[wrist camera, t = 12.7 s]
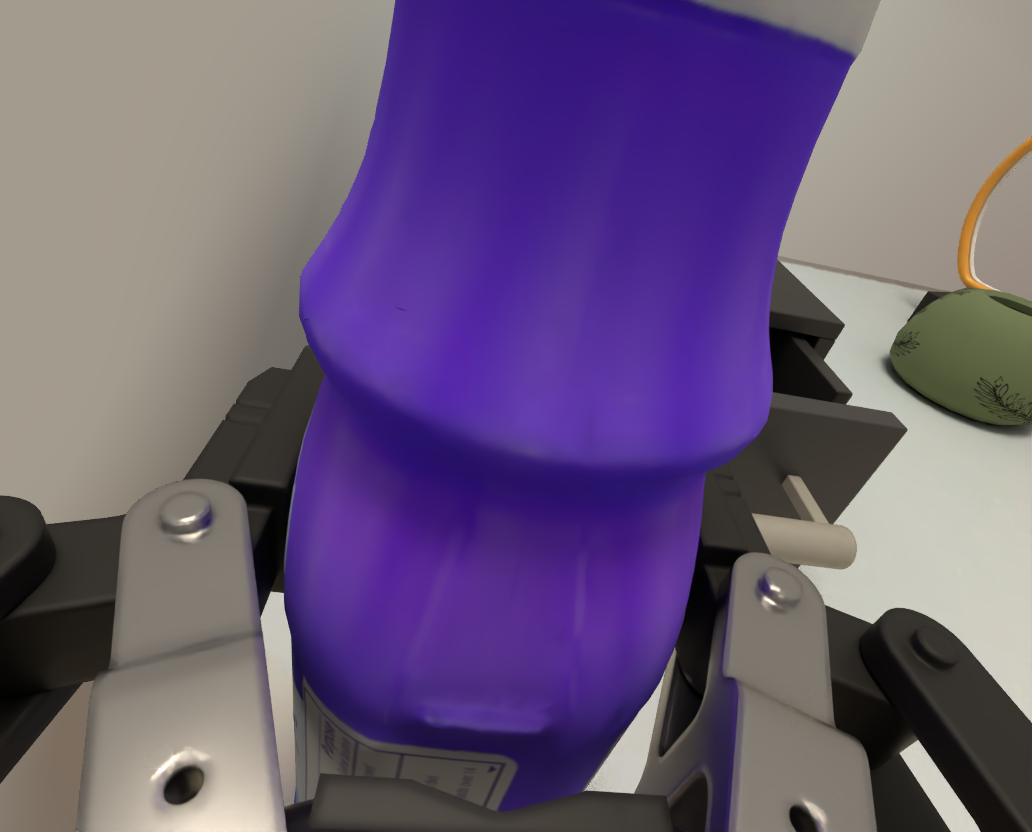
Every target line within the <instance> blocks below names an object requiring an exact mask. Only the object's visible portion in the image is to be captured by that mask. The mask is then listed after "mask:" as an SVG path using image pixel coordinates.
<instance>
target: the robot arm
mask: <svg viewBox="0 0 1032 832" xmlns="http://www.w3.org/2000/svg"><path fill="white" fill-rule="evenodd" d="M324 375H325V373H324V371H323V369H322V368H321V366H320V364H319V362H318V360H317V359H316V357H315V355H314V353H313V351H312V349H311V347H310V346H309V345H307V346H305V348H304V349H303V351H302V352H301V354H300V356H299V358H298V359H297V361H296V363H295V365H294V367H293V368H292V370H286V369H280V368H274V367H271V368H270V369H268V370H266V371H265V372H263V373H262V374H260V375H258V376H257V377H255V378H253V379H252V380H250V381H249V382H248V383H247V385H246V386H245V388H244V390H243V391H242V392H241V394H240V395H239V397H238V398H237V400H236V404H234V405H233V406H232V407H231V409H230V410H229V412H228V413H227V415H226V419H225V420H223V421H222V422H221V424H220V425H219V427H218V428H217V430H216V431H215V433H214V434H213V436H212V437H211V439H210V441H209V442H208V443H207V445H206V446H205V448H204V449H203V451H202V452H201V454H200V455H199V457H198V458H197V460H196V461H195V463H194V464H193V466H192V468H191V469H190V470H189V472H188V473H187V475H186V476H185V478H184V479H183V480H182V481H176V482H173V483H169V484H166V485H164V486H161V487H159V488H156V489H155V490H153V491H151V492H149V493H147V494H146V495H144V496H143V497H142V498H141V499H139V500H138V501H137V502H136V503H135V504H134V505H133V506H132V507H131V508H130V509H129V511H128V512H127V514H124V515H120V516H115V517H108V518H100V519H91V520H83V521H73V522H64V523H55V524H46V523H45V520H44V518H43V516H42V514H41V512H40V510H39V509H38V508H37V507H36V506H35V505H33V504H32V503H30V502H28V501H26V500H23V499H20V498H16V497H11V496H0V783H1V782H2V781H3V780H4V778H5V777H6V776H7V775H8V773H9V772H10V771H11V770H12V769H13V767H14V766H15V765H16V764H17V762H18V761H19V760H20V759H21V758H22V756H23V755H24V754H25V753H26V752H27V750H28V749H29V748H30V747H31V745H32V744H33V743H34V742H35V741H36V739H37V738H38V737H39V736H40V734H41V733H42V732H43V731H44V730H45V728H46V727H47V726H48V725H49V723H50V722H51V721H52V720H53V718H54V717H55V716H56V715H57V713H58V712H59V711H60V710H61V709H62V707H63V706H64V705H65V704H66V703H67V701H68V700H69V699H70V698H71V697H72V695H73V694H74V693H75V692H76V690H77V689H78V688H79V687H80V685H81V684H82V683H83V682H88V681H92V680H94V683H93V686H92V690H91V695H90V702H89V710H88V719H87V728H86V738H85V747H84V757H83V765H82V774H81V784H80V793H79V803H78V812H77V821H76V830H75V832H951V831H950V830H949V828H948V827H947V825H946V824H945V822H944V821H943V819H942V818H941V816H940V815H939V813H938V811H937V810H936V808H935V807H934V805H933V804H932V802H931V801H930V799H929V798H928V796H927V795H926V793H925V792H924V790H923V789H922V787H921V786H920V784H919V783H918V781H917V780H916V778H915V776H914V775H913V773H912V772H911V770H910V769H909V767H908V766H907V764H906V763H905V761H904V760H903V758H902V757H901V755H900V754H899V753H900V752H901V751H903V750H904V749H906V748H907V747H908V746H910V745H911V744H913V743H914V742H915V741H917V740H919V741H920V743H921V744H922V746H923V747H924V749H925V750H926V752H927V753H928V754H929V756H930V757H931V759H932V760H933V762H934V763H935V765H936V766H937V767H938V769H939V770H940V772H941V773H942V775H943V776H944V778H945V779H946V780H947V782H948V783H949V785H950V786H951V788H952V789H953V790H954V792H955V793H956V795H957V796H958V798H959V799H960V801H961V802H962V803H963V805H964V806H965V808H966V809H967V811H968V812H969V814H970V815H971V816H972V818H973V819H974V821H975V822H976V824H977V826H978V827H979V829H980V831H981V832H1032V723H1031V722H1030V720H1029V719H1028V718H1027V717H1026V716H1025V715H1024V713H1023V712H1022V711H1021V710H1020V709H1019V708H1018V706H1017V705H1016V704H1015V703H1014V702H1013V701H1012V699H1011V698H1010V697H1009V696H1008V695H1007V694H1006V692H1005V691H1004V690H1003V689H1002V688H1001V687H1000V685H999V684H998V683H997V682H996V681H995V680H994V678H993V677H992V676H991V675H990V674H989V673H988V671H987V670H986V669H985V668H984V667H983V666H982V664H981V663H980V662H979V661H978V660H977V659H976V657H975V656H974V655H973V654H972V653H971V652H970V650H969V649H968V648H967V647H966V646H965V645H964V644H963V643H962V642H961V641H960V640H959V639H958V638H957V637H956V636H955V635H954V634H953V633H952V632H950V631H949V630H948V629H947V628H945V627H944V626H943V625H941V624H940V623H938V622H937V621H935V620H933V619H931V618H930V617H928V616H926V615H924V614H921V613H919V612H916V611H913V610H910V609H905V608H894V609H890V610H888V611H886V612H885V613H884V614H883V615H882V616H881V617H880V618H879V619H878V620H877V621H876V622H875V623H874V624H871V623H868V622H866V621H863V620H861V619H858V618H856V617H853V616H851V615H848V614H846V613H843V612H841V611H838V610H836V609H833V608H831V607H828V606H826V605H825V604H824V601H823V599H822V597H821V595H820V593H819V591H818V590H817V588H816V587H815V585H814V584H813V583H812V582H811V581H810V580H809V579H808V577H806V576H805V575H804V574H803V573H802V572H801V571H800V570H798V569H797V568H796V567H794V566H793V565H791V564H790V563H788V562H786V561H784V560H782V559H780V558H778V557H775V556H773V555H771V553H770V551H769V549H768V547H767V545H766V542H765V540H764V538H763V536H762V534H761V532H760V530H759V528H758V526H757V524H756V522H755V520H754V518H753V515H752V513H751V511H750V509H749V507H748V505H747V503H746V501H745V499H744V498H743V497H741V494H742V493H741V491H740V488H739V486H738V484H737V482H736V481H733V478H734V476H733V474H732V472H731V470H730V468H729V466H728V463H726V464H724V465H722V466H720V467H717V468H715V469H712V470H709V471H707V472H706V474H705V484H704V495H703V507H702V520H701V528H700V535H699V543H698V549H697V555H696V561H695V568H694V573H693V578H692V583H691V588H690V594H689V598H688V602H687V606H686V610H685V616H684V620H683V623H682V627H681V630H680V633H679V636H678V639H677V642H676V645H675V650H674V652H673V653H672V655H671V658H670V660H669V662H668V664H667V667H666V670H665V675H664V679H663V684H662V689H661V694H660V699H659V704H658V709H657V714H656V719H655V724H654V729H653V734H652V739H651V743H650V748H649V753H648V758H647V762H646V766H645V769H644V772H643V775H642V778H641V780H640V782H639V784H638V786H637V788H636V791H635V793H634V794H630V793H615V792H599V791H584V792H580V793H576V794H572V795H568V796H564V797H561V798H557V799H553V800H549V801H545V802H541V803H538V804H534V805H530V806H526V807H522V808H518V809H515V810H511V811H504V812H502V811H495V810H491V809H489V808H486V807H483V806H481V805H478V804H475V803H473V802H470V801H467V800H465V799H462V798H459V797H457V796H454V795H452V794H449V793H446V792H444V791H441V790H438V789H436V788H433V787H430V786H428V785H425V784H422V783H420V782H417V781H415V780H412V779H401V778H386V777H371V776H355V775H340V774H325V773H320V776H319V780H318V785H317V789H316V793H315V797H314V799H311V800H307V801H303V802H299V803H295V804H292V805H290V806H287V807H284V804H283V796H282V787H281V779H280V771H279V763H278V755H277V747H276V738H275V730H274V722H273V714H272V706H271V697H270V689H269V681H268V673H267V665H266V657H265V649H264V641H263V633H262V628H261V620H260V617H261V615H262V612H263V610H264V607H265V605H266V602H267V600H268V597H269V594H270V592H271V591H272V592H281V593H284V556H285V546H286V536H287V527H288V518H289V511H290V505H291V498H292V492H293V486H294V482H295V476H296V470H297V465H298V459H299V455H300V450H301V446H302V442H303V437H304V434H305V431H306V428H307V425H308V422H309V419H310V416H311V414H312V411H313V408H314V405H315V402H316V399H317V395H318V391H319V389H320V386H321V383H322V381H323V378H324Z"/></svg>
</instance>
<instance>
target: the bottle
mask: <svg viewBox="0 0 1032 832" xmlns="http://www.w3.org/2000/svg"><path fill="white" fill-rule="evenodd" d="M879 3H880V0H395V8H394V14H393V21H392V27H391V34H390V40H389V47H388V53H387V60H386V66H385V70H384V75H383V80H382V85H381V89H380V94H379V99H378V103H377V108H376V114H375V120H374V123H373V126H372V129H371V132H370V137H369V141H368V145H367V149H366V153H365V156H364V159H363V162H362V164H361V167H360V169H359V172H358V174H357V177H356V179H355V181H354V183H353V186H352V188H351V190H350V192H349V195H348V197H347V199H346V200H345V202H344V204H343V205H342V208H341V211H340V213H339V215H338V216H337V218H336V220H335V221H334V223H333V225H332V226H331V228H330V229H329V230H328V233H327V234H326V236H325V238H324V239H323V241H322V242H321V244H320V245H319V247H318V248H317V250H316V251H315V252H314V254H313V255H312V257H311V258H310V260H309V261H308V263H307V265H306V266H305V267H304V269H303V271H302V274H301V276H300V302H299V305H300V306H299V317H300V320H301V323H302V325H303V328H304V331H305V334H306V338H307V341H308V343H309V345H310V347H311V349H312V351H313V353H314V355H315V357H316V359H317V360H318V362H319V364H320V366H321V368H322V369H323V371H324V373H325V375H324V378H323V381H322V383H321V386H320V389H319V391H318V395H317V399H316V402H315V405H314V408H313V411H312V414H311V416H310V419H309V422H308V425H307V428H306V431H305V434H304V437H303V442H302V446H301V450H300V455H299V459H298V465H297V470H296V476H295V482H294V486H293V492H292V498H291V505H290V511H289V518H288V527H287V536H286V546H285V556H284V605H285V612H286V616H287V620H288V625H289V629H290V633H291V642H292V675H293V717H294V733H295V762H296V792H295V800H294V804H295V803H299V802H303V801H307V800H311V799H314V797H315V793H316V789H317V785H318V780H319V776H320V773H325V774H340V775H355V776H371V777H386V778H401V779H412V780H415V781H417V782H420V783H422V784H425V785H428V786H430V787H433V788H436V789H438V790H441V791H444V792H446V793H449V794H452V795H454V796H457V797H459V798H462V799H465V800H467V801H470V802H473V803H475V804H478V805H481V806H483V807H486V808H489V809H491V810H495V811H502V812H504V811H511V810H515V809H518V808H522V807H526V806H530V805H534V804H538V803H541V802H545V801H549V800H553V799H557V798H561V797H564V796H568V795H572V794H576V793H580V792H584V791H585V789H586V788H587V786H588V785H589V783H590V782H591V780H592V779H593V777H594V776H595V774H596V773H597V772H598V770H599V769H600V767H601V766H602V764H603V763H604V761H605V760H606V759H607V757H608V756H609V754H610V753H611V751H612V750H613V748H614V747H615V746H616V744H617V743H618V741H619V740H620V738H621V737H622V735H623V734H624V733H625V731H626V730H627V728H628V727H629V725H630V724H631V723H632V721H633V720H634V718H635V717H636V716H637V714H638V712H639V711H640V710H641V708H642V707H643V706H644V705H645V704H646V703H647V701H648V700H649V699H650V697H651V695H652V694H653V692H654V691H655V689H656V687H657V686H658V684H659V683H660V680H661V678H662V676H663V673H664V671H665V669H666V667H667V664H668V662H669V660H670V658H671V655H672V653H673V651H674V648H675V645H676V642H677V639H678V636H679V633H680V630H681V627H682V623H683V620H684V616H685V610H686V606H687V602H688V598H689V594H690V588H691V583H692V578H693V573H694V568H695V561H696V555H697V549H698V543H699V535H700V528H701V520H702V507H703V495H704V484H705V474H706V472H707V471H709V470H712V469H715V468H717V467H720V466H722V465H724V464H726V463H727V462H729V461H731V460H732V459H734V458H735V457H736V456H737V455H738V454H739V453H740V452H741V451H742V450H743V449H744V448H745V447H746V446H748V445H749V444H750V443H751V442H752V441H753V440H754V439H755V438H756V437H757V436H758V434H759V433H760V431H761V430H762V428H763V427H764V425H765V424H766V422H767V419H768V415H769V410H770V404H771V400H772V396H773V372H772V363H771V354H770V342H769V314H770V303H771V292H772V285H773V279H774V274H775V268H776V263H777V257H778V251H779V248H780V243H781V239H782V235H783V231H784V228H785V225H786V222H787V219H788V216H789V213H790V210H791V207H792V204H793V201H794V198H795V195H796V193H797V190H798V188H799V185H800V182H801V180H802V177H803V174H804V172H805V170H806V167H807V164H808V161H809V159H810V157H811V154H812V151H813V149H814V146H815V144H816V141H817V139H818V137H819V135H820V133H821V130H822V128H823V126H824V124H825V122H826V119H827V117H828V115H829V113H830V111H831V108H832V106H833V104H834V102H835V100H836V98H837V95H838V93H839V91H840V89H841V86H842V84H843V82H844V79H845V77H846V75H847V73H848V70H849V68H850V66H851V65H852V63H853V62H854V60H855V59H856V57H857V56H858V55H859V53H860V52H861V50H862V48H863V44H864V42H865V39H866V37H867V34H868V32H869V29H870V26H871V23H872V21H873V19H874V16H875V13H876V11H877V8H878V5H879Z"/></svg>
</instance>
